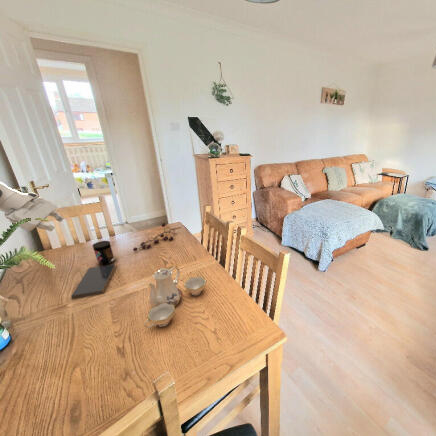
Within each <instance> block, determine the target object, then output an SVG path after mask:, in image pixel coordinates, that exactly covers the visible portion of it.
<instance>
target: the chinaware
mask: <svg viewBox="0 0 436 436" xmlns="http://www.w3.org/2000/svg"><path fill="white" fill-rule="evenodd" d="M173 270H176V277H175V279H174V280H173V274H174V273H173ZM180 272H181V271H180V268H179V267H178V266H173V267H171V268H164V267H161V268H160V269H159V270H157V271H155V272H154V273H153V274H152V278H154V280H155V284H154V283H152V282H151V283H148V284H147V286H149V287H150V292H149V300H148V301H149V305H150V307H152V308H150V309H149V310H148V315H147V317H146V319H147V320H146V321H145V322H144V327H145V328H146V329H149V328H151V327H152V326H154V327H157V326H158V327H160V328H163V327H166V326H167V325H168V324H169V323H170V322H171V320H172V318H173V316H174V313H175V311H176V306H177V305H178V304H179V303H180V300H181V298H182V295H183V291H182V289H180V288H179V287H178V286H177V285H178V284H179V280H178V279H179V278H180ZM206 283H207V279H206V278H205V277H203V276H202V275H200V276H196V277H189V278H188V279H187V280H186V281H185V282H184V283H183V287H184V288H185V289H186V290H187V292H188V293H190V294H192V296H199V295H201V294H202V291H203V290H204V288H205V285H206ZM150 321H151V323H152V324H151V325H149V326H146V324H147V323H148V322H150Z"/></svg>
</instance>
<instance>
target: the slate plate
mask: <svg viewBox="0 0 436 436" xmlns="http://www.w3.org/2000/svg"><path fill="white" fill-rule="evenodd" d="M115 269H116V264H115V263H112V264H110V265H106V266H100V265H98V266H94V267H88V269H87V270H86V272H85V274H84V275H83V277H82V278H81V280H80V281H79V283H78V284H77V286H76V288H75V289H74V291H73V293H71V299H72V300H73V299H78V298H79V299H80V298H83V297H89V296H94V295H95V296H96V295H101V294H104V293H105V290H106V288H107V286H108V285H109V282H110V279H111V278H112V275H113V273H114V272H115Z"/></svg>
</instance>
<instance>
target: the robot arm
mask: <svg viewBox="0 0 436 436" xmlns="http://www.w3.org/2000/svg"><path fill="white" fill-rule="evenodd" d="M57 208H58V206H56V204H54V203H53V202H51V201H50V200H47V199H46V198H44V197H41V196H39V194H37V193H36V192H20V191H18V190H16V189H12V188H11V187H8V186H7V185H6V184H5V183H3V182H2V181H0V211H1V212H3V213H4V216H5V218H6V219H7V220H9V222H11V223H12V224H14V223H16V222H18V221H21V220H23V219H26V218H31V221H28V222H26V223H24V224H22V225H20V226H18V227H19V228H20V229H23V230H25V231H29V232H31V231H33V230H34V229H36V228H37V229H39V230H46V231H48V232H52V231H53V230H55V228H56V227H55V226H54V225H52V224H50V225H49V224H45V223H44V222H43V221H41V220H35V219H36V218H43V219H44V220H46V219H47V218H48V217H49V216H50V217H53V218H54V219H55V221H57V222H59V223H60V222H62V221H63V220H64V219H65V217H63V216H62V215H61V214H59V213H58V212H57V211H56V210H57Z"/></svg>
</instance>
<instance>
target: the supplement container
mask: <svg viewBox="0 0 436 436" xmlns="http://www.w3.org/2000/svg"><path fill="white" fill-rule="evenodd" d="M92 250H93V252H94V255H95V258H96V262H97V265H98V266H106V265H113V264H114V263H115V261H116V259H115V255H114V251H113V249H112V244H111V241H109V240H101V241H96V242H94V243H93V244H92Z"/></svg>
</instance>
